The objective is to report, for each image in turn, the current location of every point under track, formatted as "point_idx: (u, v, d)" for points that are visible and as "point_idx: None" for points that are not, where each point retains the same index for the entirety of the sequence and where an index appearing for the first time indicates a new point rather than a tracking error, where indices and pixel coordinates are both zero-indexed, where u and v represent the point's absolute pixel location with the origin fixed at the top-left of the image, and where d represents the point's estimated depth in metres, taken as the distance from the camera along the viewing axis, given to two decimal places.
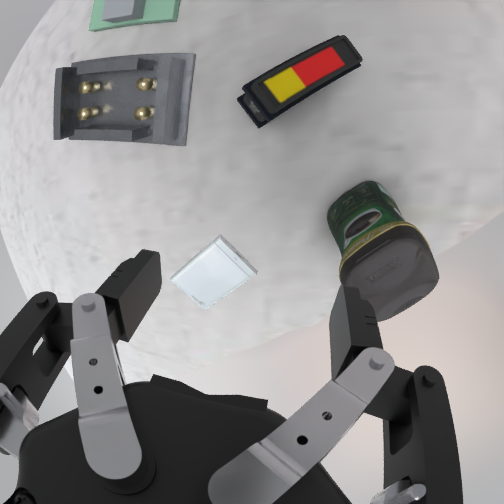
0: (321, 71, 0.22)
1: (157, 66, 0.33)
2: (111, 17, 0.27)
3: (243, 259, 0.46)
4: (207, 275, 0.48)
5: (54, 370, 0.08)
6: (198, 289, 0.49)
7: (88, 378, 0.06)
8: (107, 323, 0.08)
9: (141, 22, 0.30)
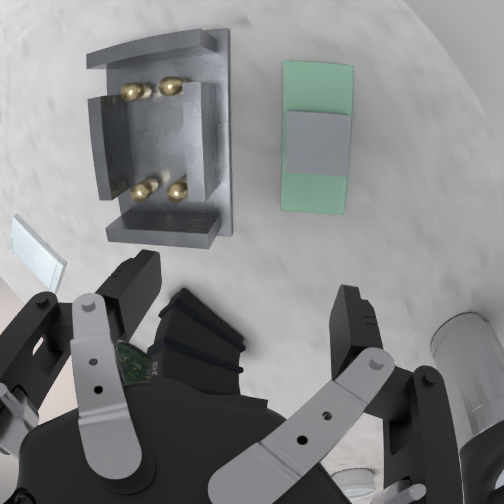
0: None
1: None
2: (288, 132, 0.22)
3: (59, 283, 0.41)
4: (32, 253, 0.38)
5: (54, 370, 0.08)
6: (19, 244, 0.38)
7: (88, 378, 0.06)
8: (107, 323, 0.08)
9: (282, 159, 0.26)
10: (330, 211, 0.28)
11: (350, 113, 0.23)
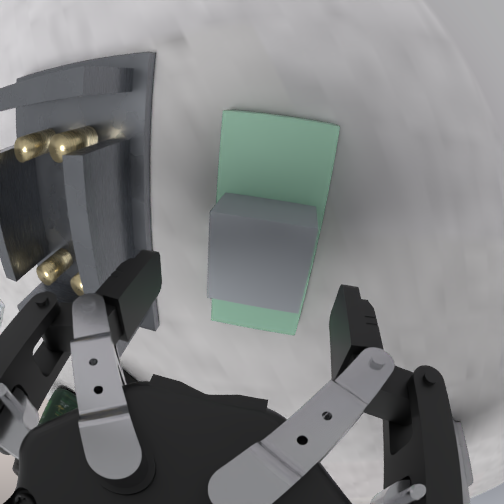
0: None
1: None
2: (211, 243, 0.15)
3: (0, 321, 0.32)
4: None
5: (54, 370, 0.08)
6: None
7: (88, 378, 0.06)
8: (107, 323, 0.08)
9: None
10: (277, 330, 0.21)
11: (323, 206, 0.16)
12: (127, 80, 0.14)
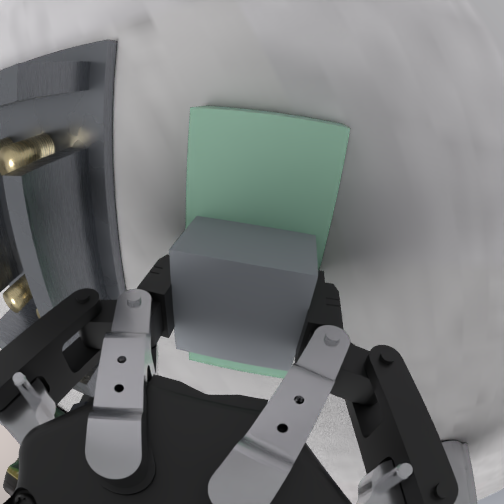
0: None
1: None
2: (175, 289, 0.11)
3: None
4: None
5: (84, 367, 0.09)
6: None
7: (112, 374, 0.06)
8: (148, 322, 0.09)
9: None
10: (266, 373, 0.17)
11: (325, 234, 0.12)
12: (81, 76, 0.10)
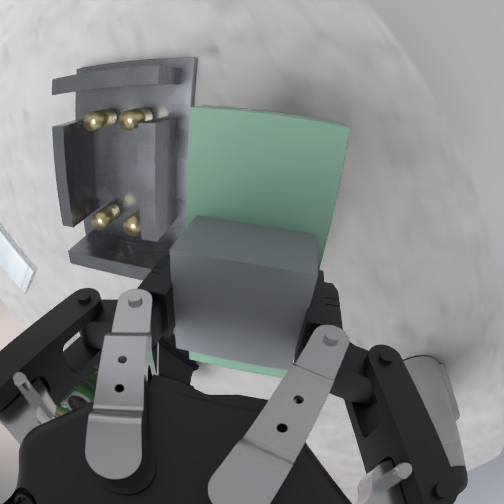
0: None
1: None
2: (175, 288, 0.11)
3: (29, 285, 0.39)
4: (5, 254, 0.36)
5: (85, 368, 0.09)
6: None
7: (113, 374, 0.06)
8: (149, 323, 0.09)
9: None
10: (266, 372, 0.17)
11: (325, 234, 0.12)
12: (179, 76, 0.22)
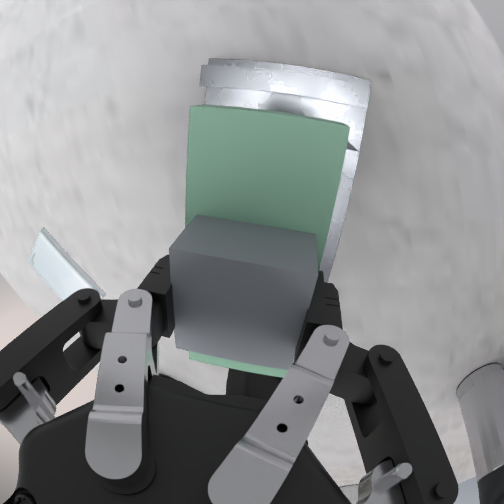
0: None
1: None
2: (175, 287, 0.11)
3: None
4: (60, 276, 0.35)
5: (85, 367, 0.09)
6: (43, 262, 0.34)
7: (112, 374, 0.06)
8: (149, 323, 0.09)
9: None
10: (266, 372, 0.17)
11: (325, 233, 0.12)
12: None
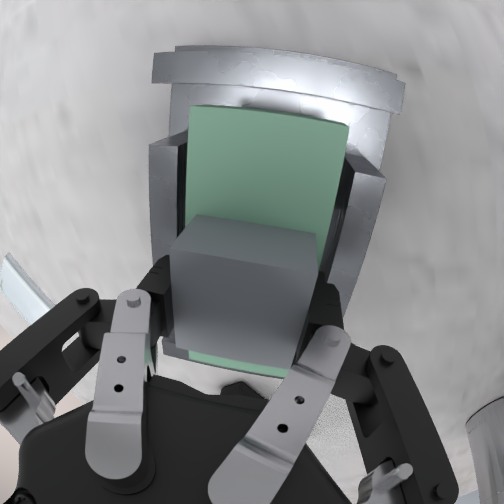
0: None
1: None
2: (175, 287, 0.11)
3: None
4: (29, 305, 0.29)
5: (84, 367, 0.09)
6: (11, 289, 0.28)
7: (112, 374, 0.06)
8: (148, 322, 0.09)
9: None
10: (266, 371, 0.17)
11: (324, 232, 0.12)
12: None
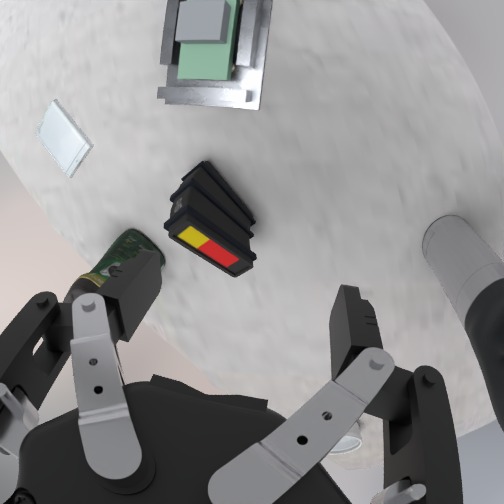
0: (214, 255, 0.34)
1: (247, 72, 0.33)
2: (179, 14, 0.24)
3: (77, 166, 0.44)
4: (60, 135, 0.41)
5: (54, 370, 0.08)
6: (48, 127, 0.40)
7: (88, 378, 0.06)
8: (107, 323, 0.08)
9: None
10: (215, 77, 0.30)
11: (234, 6, 0.25)
12: None
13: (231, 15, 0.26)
